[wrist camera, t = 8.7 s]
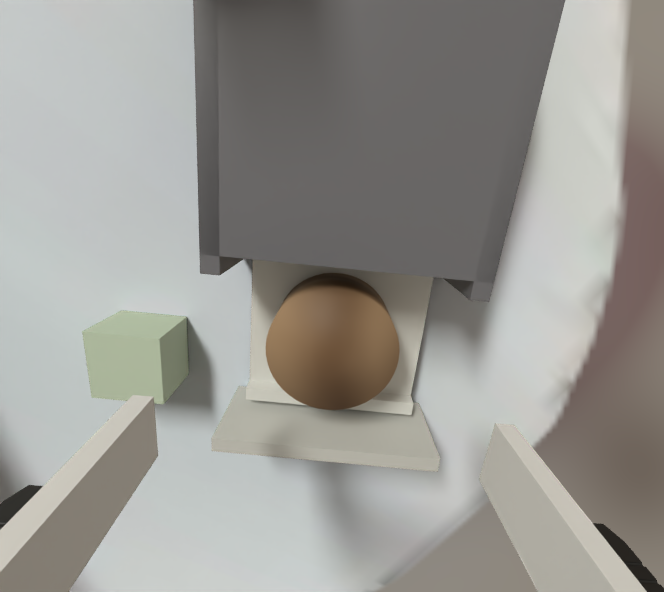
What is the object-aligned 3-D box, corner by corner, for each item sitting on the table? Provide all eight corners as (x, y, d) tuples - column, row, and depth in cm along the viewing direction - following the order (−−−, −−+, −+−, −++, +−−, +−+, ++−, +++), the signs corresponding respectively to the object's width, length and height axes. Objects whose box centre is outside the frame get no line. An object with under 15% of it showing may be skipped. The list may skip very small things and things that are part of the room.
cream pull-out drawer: (241, 200, 22) (207, 202, 17) (455, 222, 23) (495, 231, 17) (238, 396, 27) (211, 451, 21) (416, 413, 27) (437, 471, 21)
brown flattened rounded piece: (275, 371, 25) (263, 404, 21) (280, 267, 22) (267, 282, 18) (381, 381, 25) (389, 415, 21) (397, 278, 22) (409, 295, 18)
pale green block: (127, 368, 27) (91, 397, 23) (121, 310, 25) (82, 331, 21) (188, 374, 27) (163, 404, 23) (186, 316, 25) (159, 338, 21)
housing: (242, -26, 19) (189, -148, 12) (502, 2, 19) (591, -104, 12) (239, 250, 24) (200, 273, 17) (446, 271, 24) (489, 301, 17)
